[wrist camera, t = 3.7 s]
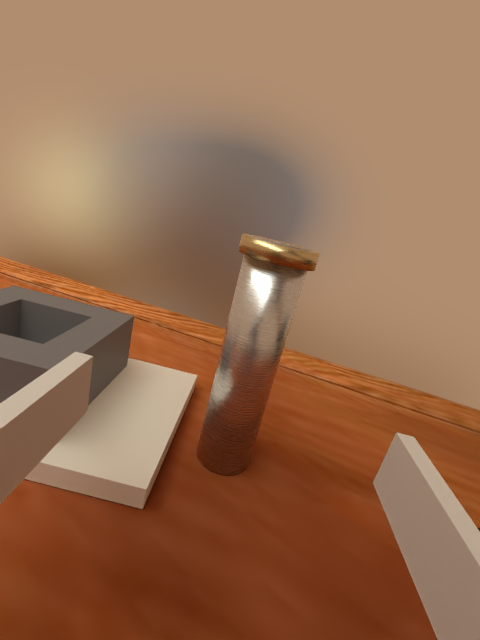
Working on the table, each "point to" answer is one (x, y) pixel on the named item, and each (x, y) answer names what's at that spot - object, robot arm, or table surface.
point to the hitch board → (121, 436)
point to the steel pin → (251, 349)
